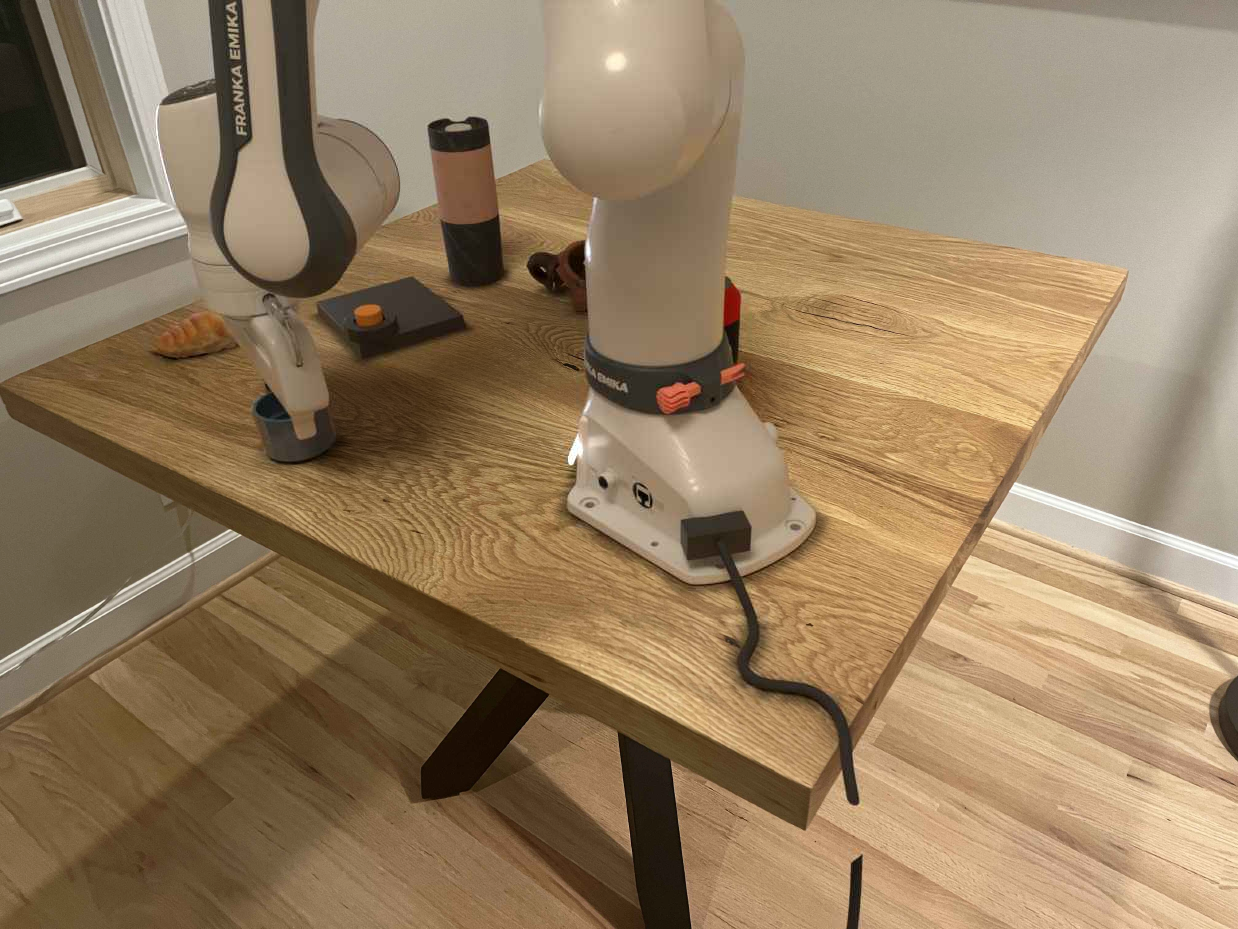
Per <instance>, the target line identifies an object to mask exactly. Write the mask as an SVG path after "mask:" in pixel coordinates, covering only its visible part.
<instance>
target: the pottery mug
mask: <svg viewBox="0 0 1238 929" xmlns="http://www.w3.org/2000/svg"><path fill="white" fill-rule="evenodd" d="M585 241H586V239H581V240H576V241H574V242H572V243H569V245H567V246H566V247H565V249H564V250H562V251H560V253H557V254H554V253H550V252H548V251H538V252H537V251H536V252H534V253H533V254H531V255H530V256H529V257H528V260H527V262H526V268H527V270H528V273H529V274H530V276H532V278H533V279H534V280H535V281H536V282H538V283H539V284H541V285H543V286H544V288H545V289H546V290H547V292H548V293H550V294H551V293H552V292H553V289H555V290H557V291H558V290H559V289H560V288H561V287H562V286H563V285H564V284H565V285H566V287H567V288H568V289H569V290H570V291H572V292H573V293H574V294H575V295H574V298H573V301H572V303H571V306H572V309H573V310H576V311H578V312H580V313H584V312H585V311H586V310H588V306H587V288H586V286H583V285H582V284H580V281H582V282H583V281H584V282H586V270H585Z"/></svg>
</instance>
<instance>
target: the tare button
mask: <svg viewBox="0 0 1238 929" xmlns="http://www.w3.org/2000/svg"><path fill="white" fill-rule="evenodd" d="M354 313H355V318H356V323H357V325H359V326H373V325H376V324H379V323H381V322H382V321H383V316H382V311H381V308H380V306H378V305H364V306H360V307H358V308H357V309H355V311H354Z"/></svg>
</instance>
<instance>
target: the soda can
mask: <svg viewBox="0 0 1238 929" xmlns="http://www.w3.org/2000/svg"><path fill="white" fill-rule="evenodd" d="M741 307H742V294H741V292H740V291H739V289H738V288H737V287H736V286H735V284H734V283H733V281H732V280H731V278H730V277H729V276H727V275H725V292H724V318H723V329H724V330H725V332H726V334H727V338H728V342H729V345H730V347H731V352H732V358H733V363H734V366H736V365H739V350H740V349H739V347H740V330H741V329H740V326H741ZM736 374H738V372H737V373H736ZM736 385H737V386H738V381H737V382H736Z"/></svg>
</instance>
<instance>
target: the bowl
mask: <svg viewBox="0 0 1238 929" xmlns="http://www.w3.org/2000/svg"><path fill="white" fill-rule="evenodd" d="M250 410H251V415H252V418H253V421H254V425H255V427H256V431H257V434H258V438H259V440H260V443H261V444H260V445H261V446H262V451H263V452H264V453H265V455H266V457H268V458H270V459H273V460H275V461H278V462H286V463H298V462H305V461H308V460H311V459H314V458H316V457H318V456H320V455H323V453H325V452H326V451H327V450H328V449H330V448H331V447H332V446H333V444H334V443H335V442H336V438H337V437H336V436H337V432H336V427H335V424H334V419H333V416H332V412H331V408H330V402H329V403H328V406H327V407H325V408H323V409H321V410H318V411H315V412H314V423H315V427H316V434H315V435H314V436H313V437H309V438H306V439H303V440H301V439H298V438H297V436H296V435H295V433H294V432H293V429H292V425H291V422H290V419H289V418H291V416H290V415H289V414H288V413H287V411H286V410H285V408H284V407H283V406H282V404H281V403H280V402H279V400H278V399H277V397H276V396H275V395H274V393H273V392H272V391H270V392H268V393H266V392H265V393H264V394H263V395H261V396H259V397H258V398H257V399H256V400H255V401H254V402H253V403H252V406H251V409H250Z"/></svg>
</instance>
